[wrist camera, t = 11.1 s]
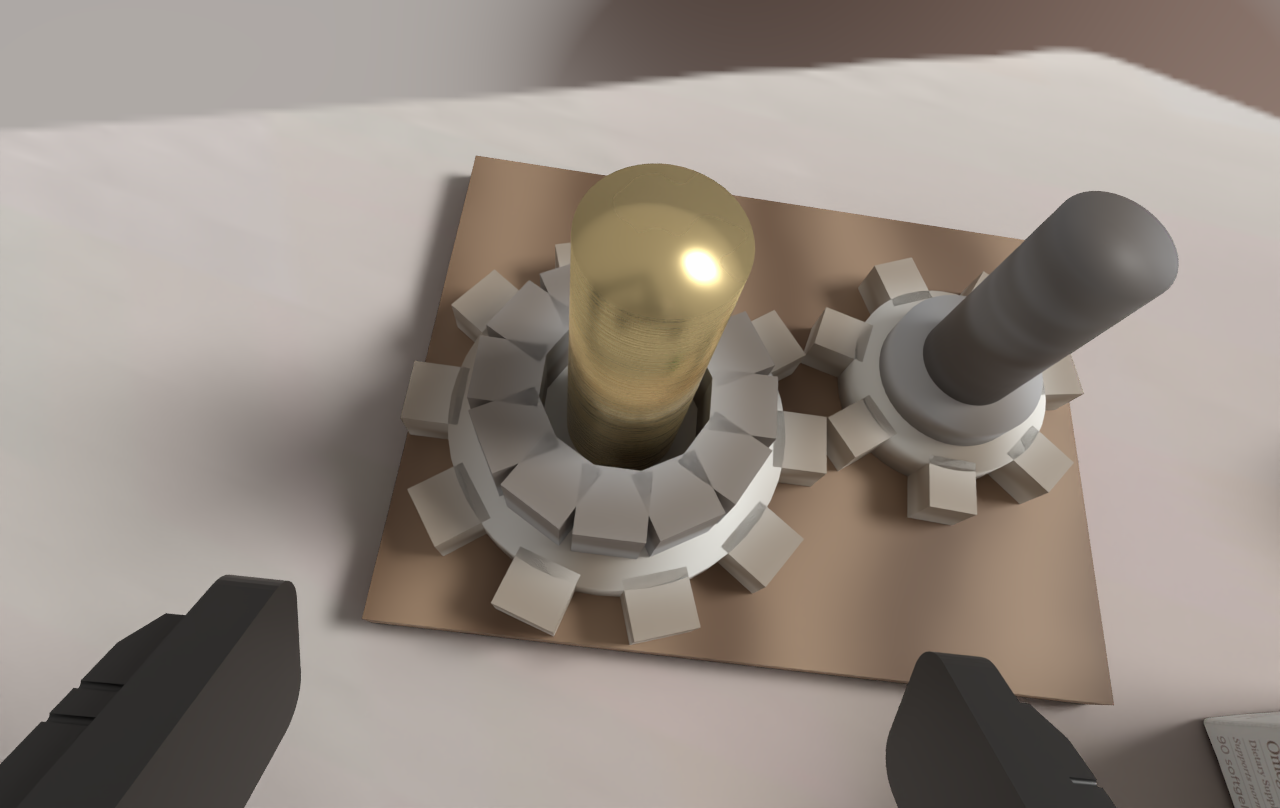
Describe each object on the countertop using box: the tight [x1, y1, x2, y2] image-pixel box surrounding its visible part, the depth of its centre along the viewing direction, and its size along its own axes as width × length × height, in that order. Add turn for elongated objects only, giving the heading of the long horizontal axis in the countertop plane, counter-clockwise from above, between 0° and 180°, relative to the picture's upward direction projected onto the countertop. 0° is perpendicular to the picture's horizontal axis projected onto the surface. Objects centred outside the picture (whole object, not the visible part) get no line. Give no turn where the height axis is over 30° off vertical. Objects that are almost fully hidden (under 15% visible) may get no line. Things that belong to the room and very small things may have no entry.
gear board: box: [362, 156, 1178, 705], centre depth 21 cm, size 24×18×11 cm
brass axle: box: [567, 164, 755, 471], centre depth 18 cm, size 4×4×10 cm
